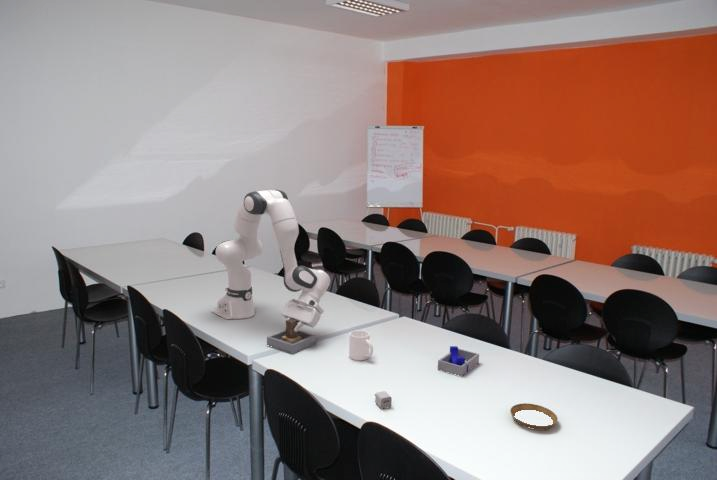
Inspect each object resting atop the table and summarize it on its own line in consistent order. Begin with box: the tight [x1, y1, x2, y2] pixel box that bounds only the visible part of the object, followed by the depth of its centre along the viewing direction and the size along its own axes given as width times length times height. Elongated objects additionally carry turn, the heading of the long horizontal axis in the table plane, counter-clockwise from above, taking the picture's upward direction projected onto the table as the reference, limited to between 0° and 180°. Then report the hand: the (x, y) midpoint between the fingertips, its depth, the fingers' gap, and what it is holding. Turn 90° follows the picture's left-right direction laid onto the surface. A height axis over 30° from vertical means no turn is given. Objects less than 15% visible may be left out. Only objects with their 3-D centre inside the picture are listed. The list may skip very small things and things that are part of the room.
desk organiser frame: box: [437, 348, 480, 377], centre depth 216 cm, size 10×17×4 cm, turn 144°
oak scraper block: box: [282, 319, 301, 344], centre depth 234 cm, size 6×6×9 cm
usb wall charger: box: [374, 391, 393, 410], centre depth 184 cm, size 4×7×4 cm, turn 23°
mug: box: [348, 329, 374, 362], centre depth 221 cm, size 12×8×10 cm
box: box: [266, 329, 317, 355], centre depth 234 cm, size 15×15×4 cm
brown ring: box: [509, 403, 558, 430], centre depth 176 cm, size 15×15×3 cm
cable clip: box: [449, 345, 469, 373], centre depth 216 cm, size 12×4×6 cm, turn 5°
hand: (290, 329), depth 233 cm, fingers closed on oak scraper block, 4 cm apart
